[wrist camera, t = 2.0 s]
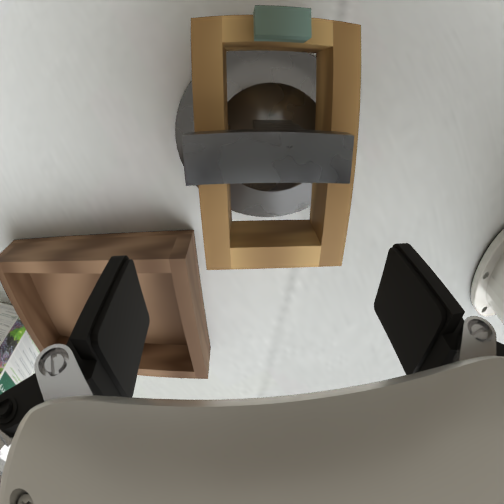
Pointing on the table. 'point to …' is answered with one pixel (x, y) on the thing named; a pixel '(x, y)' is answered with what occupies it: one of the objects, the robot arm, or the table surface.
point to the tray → (85, 278)
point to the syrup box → (14, 349)
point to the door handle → (265, 136)
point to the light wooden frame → (327, 119)
